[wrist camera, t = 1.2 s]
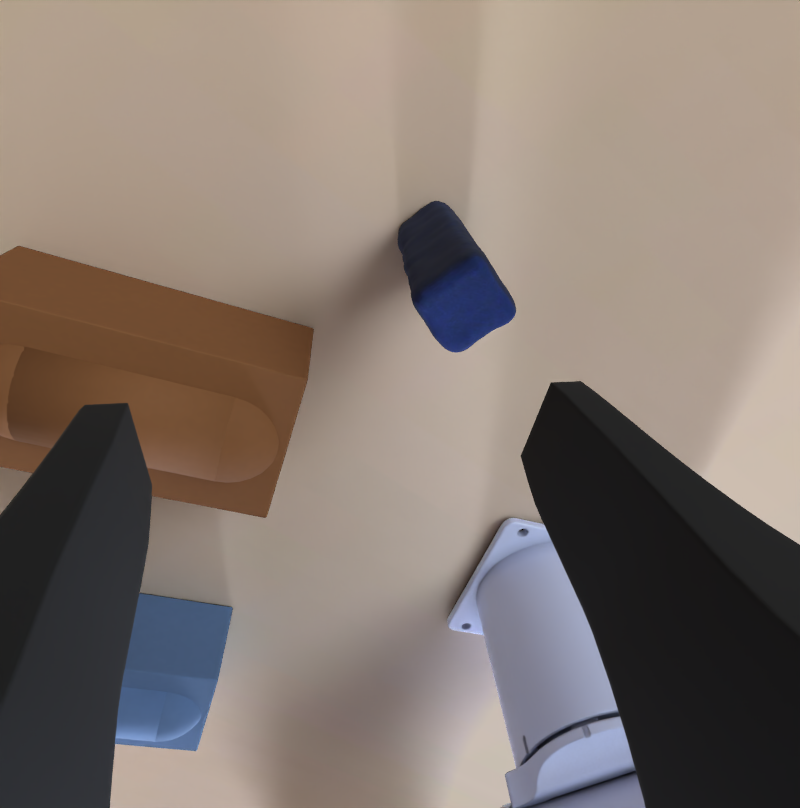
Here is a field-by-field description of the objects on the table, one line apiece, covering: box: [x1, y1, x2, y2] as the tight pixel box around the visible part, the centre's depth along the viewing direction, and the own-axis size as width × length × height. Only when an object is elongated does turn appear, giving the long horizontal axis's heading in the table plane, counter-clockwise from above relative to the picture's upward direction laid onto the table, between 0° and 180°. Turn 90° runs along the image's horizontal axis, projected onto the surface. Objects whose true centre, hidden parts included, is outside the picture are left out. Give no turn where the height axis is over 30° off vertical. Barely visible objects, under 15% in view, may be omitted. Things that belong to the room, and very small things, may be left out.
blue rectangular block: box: [115, 593, 233, 751], centre depth 26 cm, size 10×6×5 cm, turn 71°
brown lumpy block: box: [0, 246, 314, 518], centre depth 19 cm, size 10×6×5 cm, turn 71°
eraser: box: [398, 201, 516, 352], centre depth 16 cm, size 2×2×7 cm
